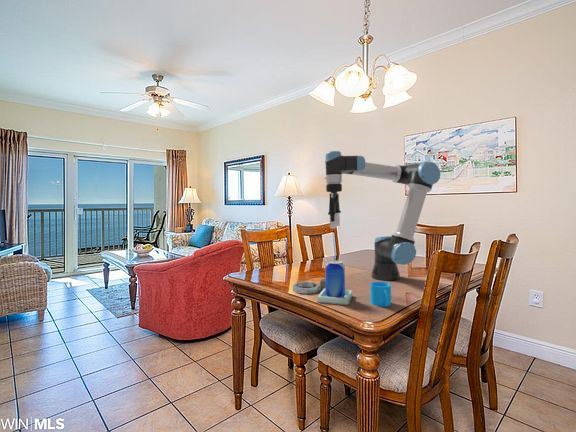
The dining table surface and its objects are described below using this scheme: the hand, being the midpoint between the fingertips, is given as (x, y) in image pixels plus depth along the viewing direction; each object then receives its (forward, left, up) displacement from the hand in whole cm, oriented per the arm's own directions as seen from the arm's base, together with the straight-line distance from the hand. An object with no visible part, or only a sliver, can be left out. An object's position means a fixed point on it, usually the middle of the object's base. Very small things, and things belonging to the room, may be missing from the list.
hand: (335, 227), depth 153 cm
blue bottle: (-3, +17, -30) cm, 35 cm away
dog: (+5, +5, -30) cm, 31 cm away
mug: (-23, +19, -31) cm, 43 cm away
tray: (-3, +17, -30) cm, 35 cm away
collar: (+13, +7, -30) cm, 34 cm away
